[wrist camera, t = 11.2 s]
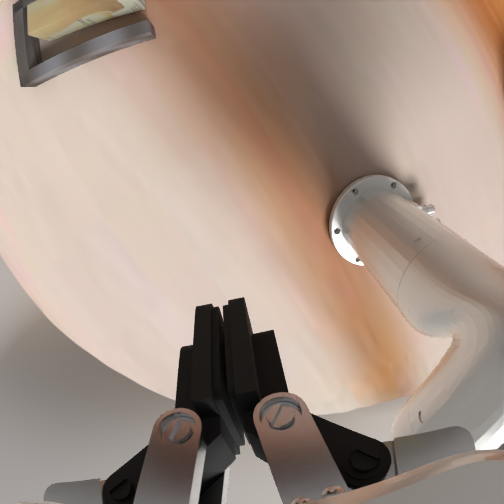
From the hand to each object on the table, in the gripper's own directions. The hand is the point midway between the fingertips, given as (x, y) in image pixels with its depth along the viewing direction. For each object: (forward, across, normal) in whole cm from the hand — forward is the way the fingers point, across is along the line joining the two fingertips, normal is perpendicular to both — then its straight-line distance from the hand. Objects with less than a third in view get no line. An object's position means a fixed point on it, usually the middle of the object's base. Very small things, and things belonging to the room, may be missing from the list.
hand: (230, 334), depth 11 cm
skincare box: (+24, +4, -23) cm, 33 cm away
